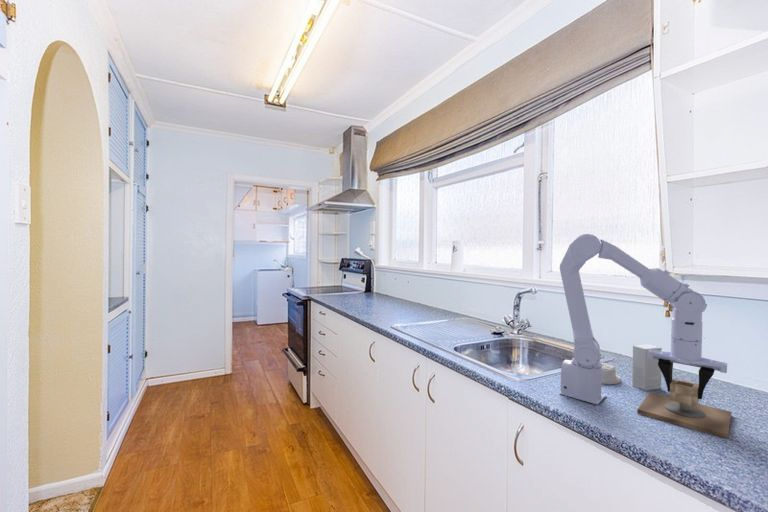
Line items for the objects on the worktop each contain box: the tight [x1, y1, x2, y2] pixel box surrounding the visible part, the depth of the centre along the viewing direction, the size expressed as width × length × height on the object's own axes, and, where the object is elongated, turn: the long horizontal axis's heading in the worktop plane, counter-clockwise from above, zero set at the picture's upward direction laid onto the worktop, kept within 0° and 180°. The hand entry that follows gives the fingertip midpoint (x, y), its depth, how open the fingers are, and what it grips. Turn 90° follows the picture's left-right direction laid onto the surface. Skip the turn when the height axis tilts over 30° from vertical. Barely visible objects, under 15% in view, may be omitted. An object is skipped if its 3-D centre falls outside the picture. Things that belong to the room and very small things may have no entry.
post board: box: [637, 391, 732, 440], centre depth 87 cm, size 16×15×6 cm
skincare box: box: [632, 343, 663, 392], centre depth 104 cm, size 6×4×12 cm
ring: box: [669, 378, 700, 407], centre depth 87 cm, size 5×5×4 cm
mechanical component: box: [600, 361, 621, 385], centre depth 111 cm, size 10×4×10 cm
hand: (684, 394), depth 87 cm, fingers closed on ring, 5 cm apart
